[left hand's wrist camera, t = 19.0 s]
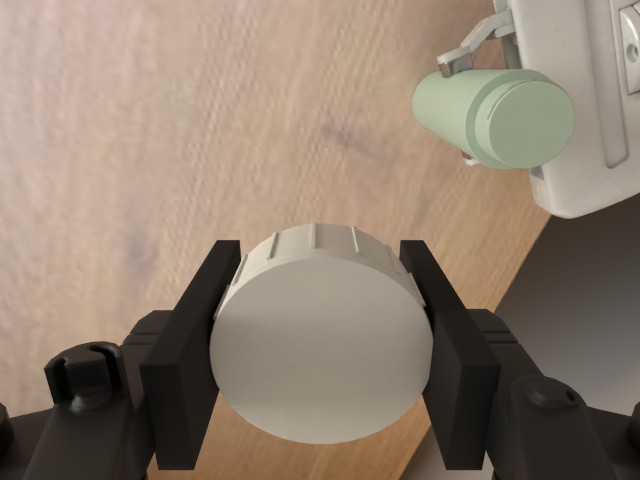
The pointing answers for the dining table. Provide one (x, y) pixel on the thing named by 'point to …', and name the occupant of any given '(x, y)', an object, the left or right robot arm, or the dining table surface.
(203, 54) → the dining table surface
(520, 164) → the jar
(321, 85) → the dining table surface
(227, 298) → the lid
